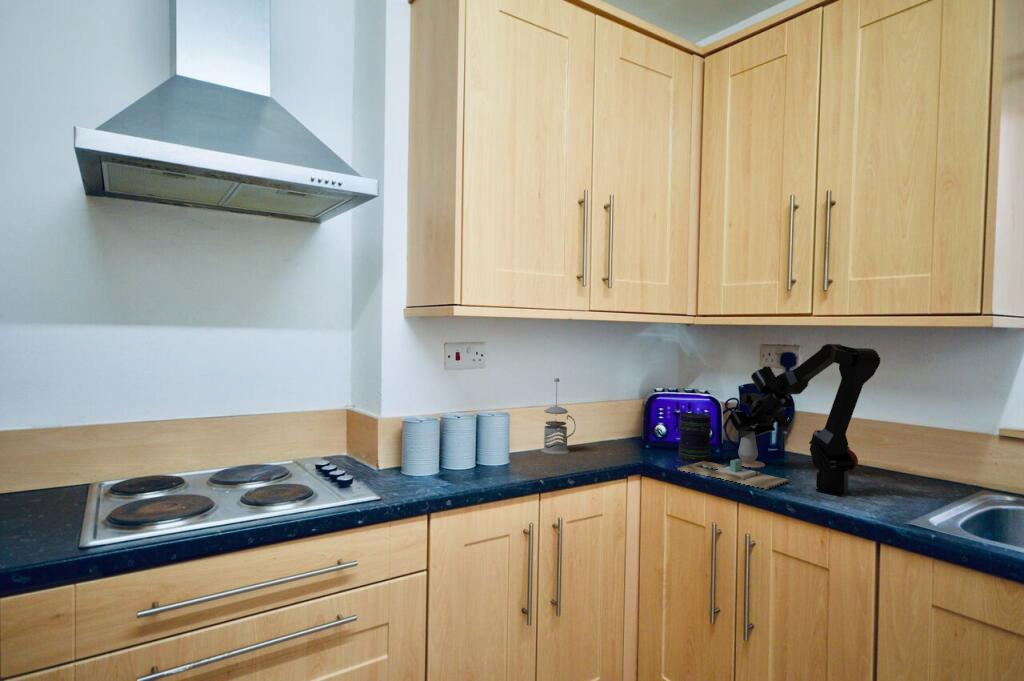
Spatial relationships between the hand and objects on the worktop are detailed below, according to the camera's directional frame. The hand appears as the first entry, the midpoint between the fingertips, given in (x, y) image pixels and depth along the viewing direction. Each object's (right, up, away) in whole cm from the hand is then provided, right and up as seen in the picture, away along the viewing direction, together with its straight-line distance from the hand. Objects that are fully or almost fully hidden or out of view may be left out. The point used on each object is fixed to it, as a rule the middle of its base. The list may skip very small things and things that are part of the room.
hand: (746, 436), depth 185 cm
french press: (-59, -7, +13) cm, 61 cm away
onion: (+27, -10, -10) cm, 30 cm away
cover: (-10, -8, -19) cm, 23 cm away
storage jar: (-16, -9, +2) cm, 18 cm away
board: (-11, -9, -18) cm, 23 cm away
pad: (0, -9, -1) cm, 9 cm away
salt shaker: (0, -8, -1) cm, 8 cm away
